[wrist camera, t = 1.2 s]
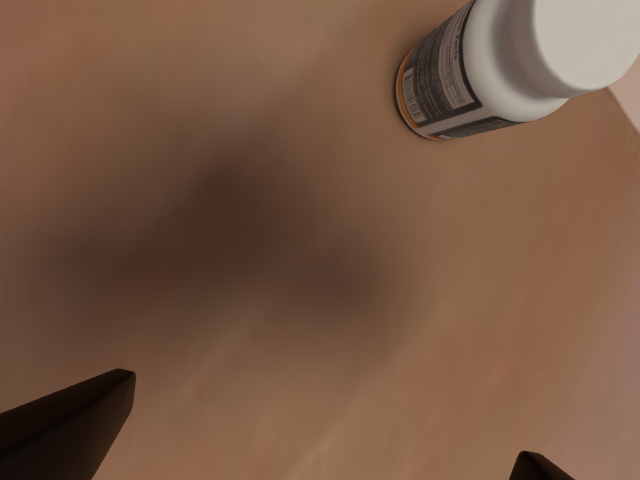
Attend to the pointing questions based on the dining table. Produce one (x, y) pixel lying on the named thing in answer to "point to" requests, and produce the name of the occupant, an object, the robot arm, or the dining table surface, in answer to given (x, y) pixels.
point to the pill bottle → (514, 62)
